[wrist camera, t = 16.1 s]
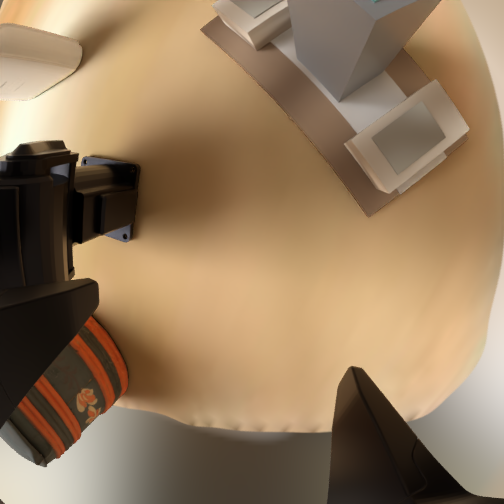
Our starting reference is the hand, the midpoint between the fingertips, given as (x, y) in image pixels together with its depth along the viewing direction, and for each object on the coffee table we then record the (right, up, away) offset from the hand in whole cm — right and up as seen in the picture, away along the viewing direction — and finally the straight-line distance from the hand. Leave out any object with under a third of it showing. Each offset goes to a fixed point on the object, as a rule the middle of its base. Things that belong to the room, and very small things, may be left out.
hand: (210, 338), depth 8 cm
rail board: (+7, +15, +7) cm, 18 cm away
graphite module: (+7, +15, +6) cm, 17 cm away
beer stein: (-22, -9, +21) cm, 32 cm away
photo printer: (-20, +22, +10) cm, 31 cm away
